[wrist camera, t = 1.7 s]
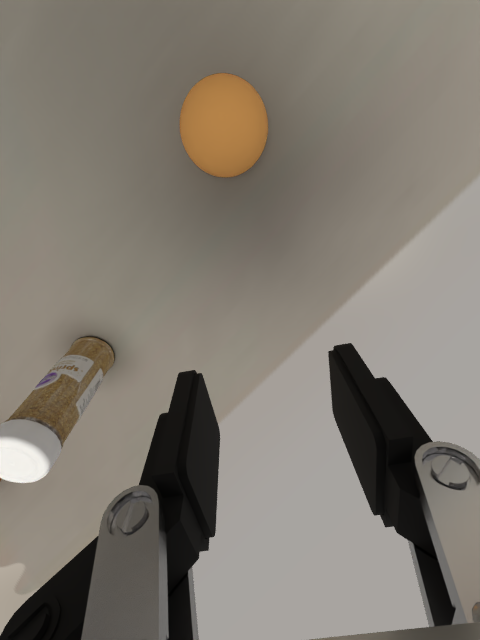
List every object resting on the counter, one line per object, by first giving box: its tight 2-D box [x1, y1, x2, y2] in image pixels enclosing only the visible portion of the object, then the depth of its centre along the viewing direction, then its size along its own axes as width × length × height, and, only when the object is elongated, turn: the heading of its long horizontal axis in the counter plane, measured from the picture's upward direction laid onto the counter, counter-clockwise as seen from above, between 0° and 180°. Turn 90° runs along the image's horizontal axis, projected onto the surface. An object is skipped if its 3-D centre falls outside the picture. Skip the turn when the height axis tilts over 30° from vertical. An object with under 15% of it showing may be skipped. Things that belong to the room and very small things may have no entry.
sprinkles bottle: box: [0, 337, 114, 483], centre depth 26 cm, size 5×5×13 cm
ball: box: [180, 73, 268, 177], centre depth 21 cm, size 6×6×6 cm
